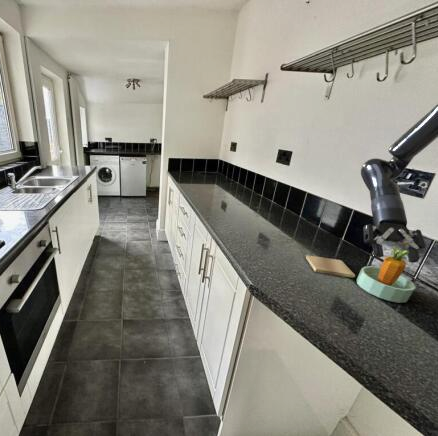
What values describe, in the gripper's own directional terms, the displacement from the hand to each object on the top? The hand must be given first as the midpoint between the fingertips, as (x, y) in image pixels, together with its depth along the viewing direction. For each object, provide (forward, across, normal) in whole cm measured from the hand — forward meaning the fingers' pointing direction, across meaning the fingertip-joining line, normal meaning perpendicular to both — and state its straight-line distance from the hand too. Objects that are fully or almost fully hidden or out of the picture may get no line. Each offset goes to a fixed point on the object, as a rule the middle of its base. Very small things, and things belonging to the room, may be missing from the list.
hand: (396, 259), depth 70 cm
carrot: (+8, 0, +8) cm, 11 cm away
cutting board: (+1, -11, +15) cm, 19 cm away
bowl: (+8, 0, +8) cm, 12 cm away
